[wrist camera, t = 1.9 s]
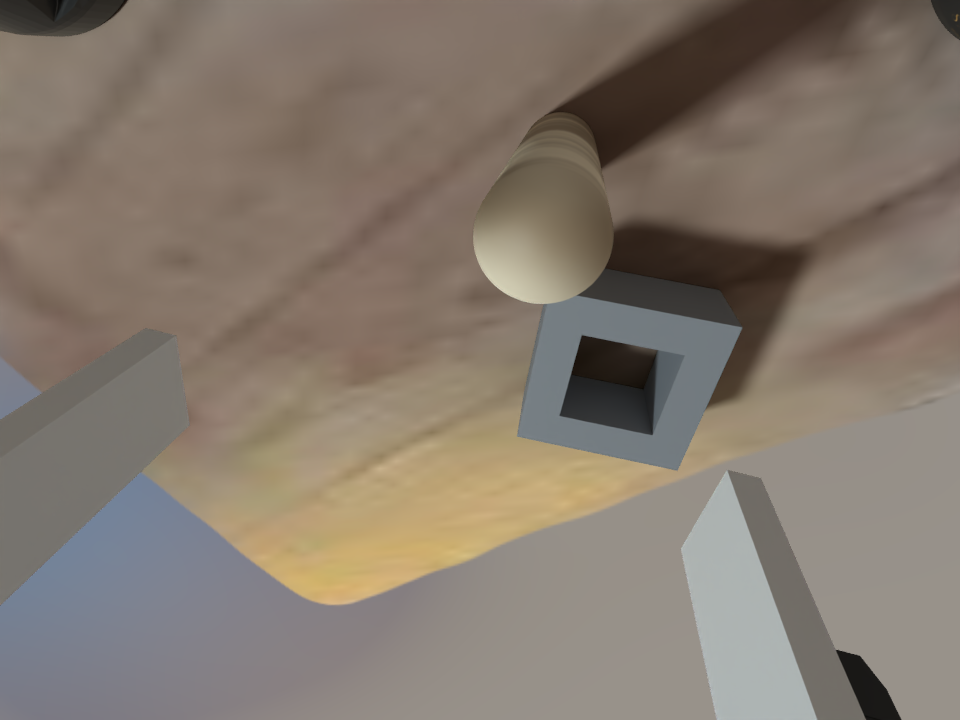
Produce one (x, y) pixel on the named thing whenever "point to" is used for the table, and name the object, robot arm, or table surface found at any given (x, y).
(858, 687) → the robot arm
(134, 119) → the table surface
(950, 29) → the jar
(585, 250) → the peg
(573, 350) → the socket
